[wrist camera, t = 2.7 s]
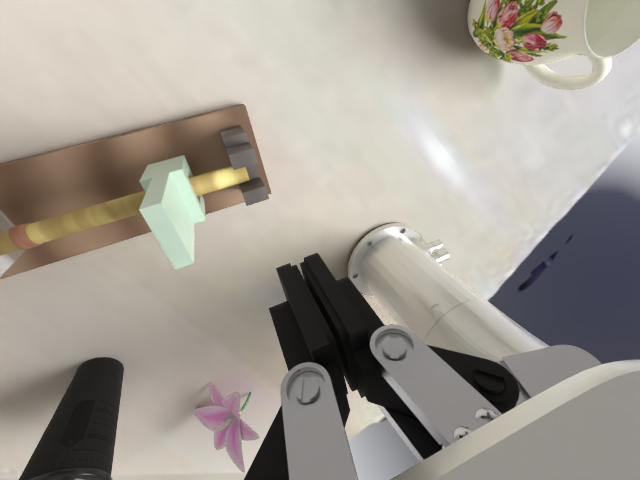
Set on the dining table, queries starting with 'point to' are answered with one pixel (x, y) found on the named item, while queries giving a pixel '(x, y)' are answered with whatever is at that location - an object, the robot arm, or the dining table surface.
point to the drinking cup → (81, 427)
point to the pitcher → (555, 34)
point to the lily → (227, 424)
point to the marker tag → (172, 208)
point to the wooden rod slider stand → (119, 186)
